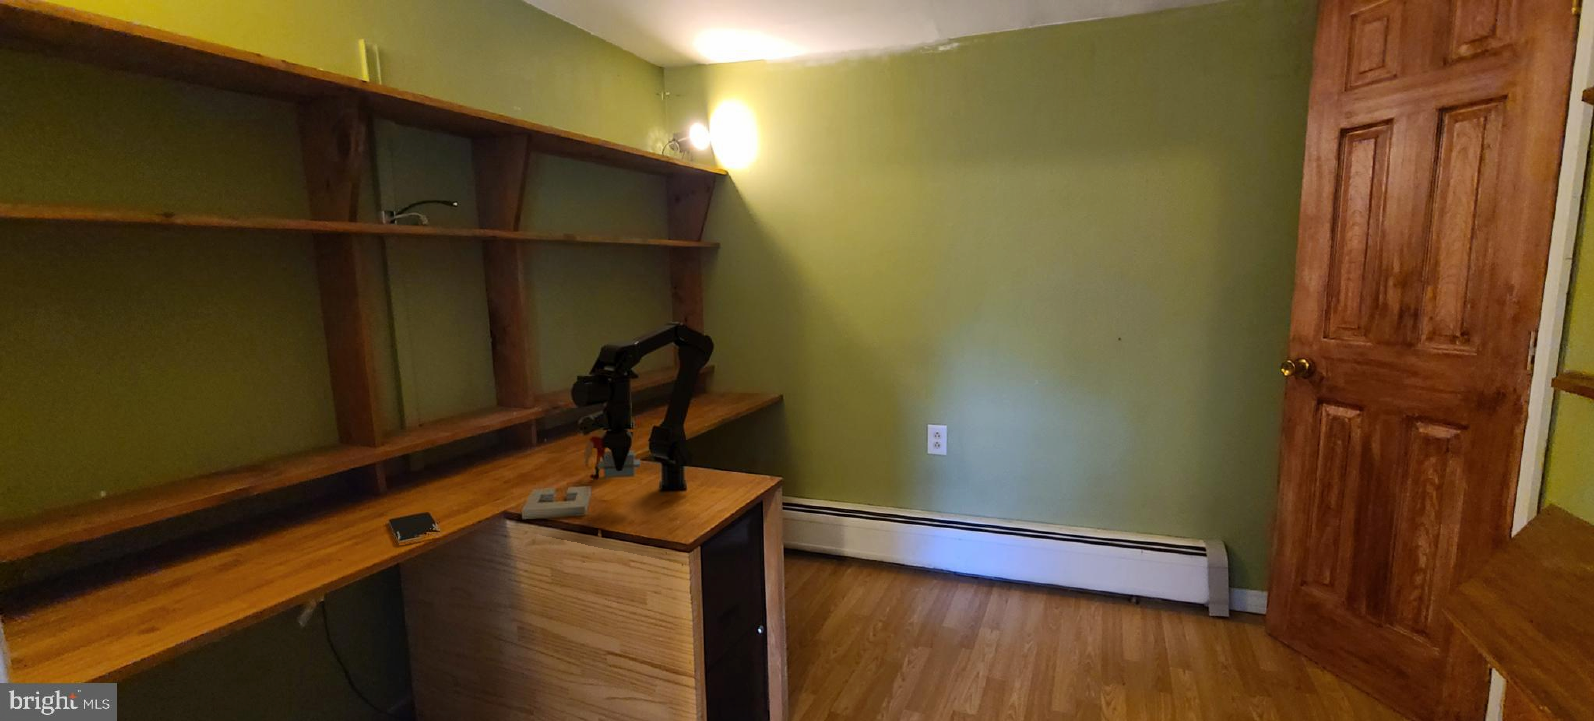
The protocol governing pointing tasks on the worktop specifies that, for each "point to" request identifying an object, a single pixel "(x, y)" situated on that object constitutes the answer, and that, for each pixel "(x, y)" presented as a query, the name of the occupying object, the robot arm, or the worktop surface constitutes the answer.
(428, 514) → the smartphone
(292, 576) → the worktop surface
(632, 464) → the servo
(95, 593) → the worktop surface
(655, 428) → the robot arm
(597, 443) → the action figure
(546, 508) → the plate
